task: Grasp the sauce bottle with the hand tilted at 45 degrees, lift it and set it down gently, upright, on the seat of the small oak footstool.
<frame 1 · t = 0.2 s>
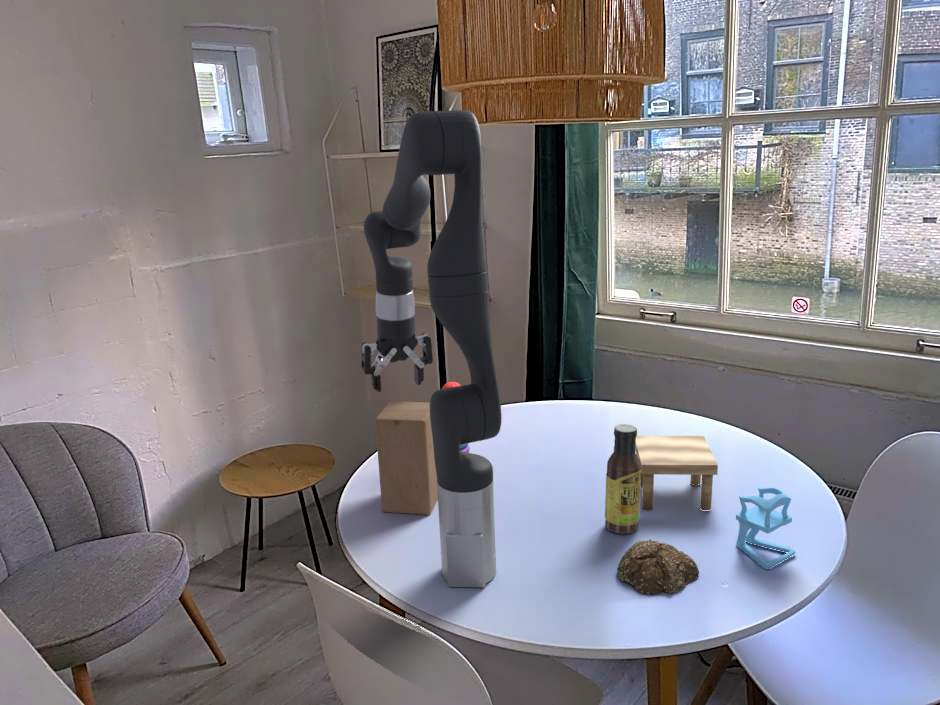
hand: (398, 386, 158), 22 cm above the table, tool pointing down, fingers open, 8 cm apart
sauce bottle: (622, 528, 145), on the table
chair: (761, 553, 135), on the table
wooden block: (412, 503, 158), on the table
stacking toy: (453, 461, 176), on the table
bread roll: (654, 575, 130), on the table
stool: (672, 495, 156), on the table
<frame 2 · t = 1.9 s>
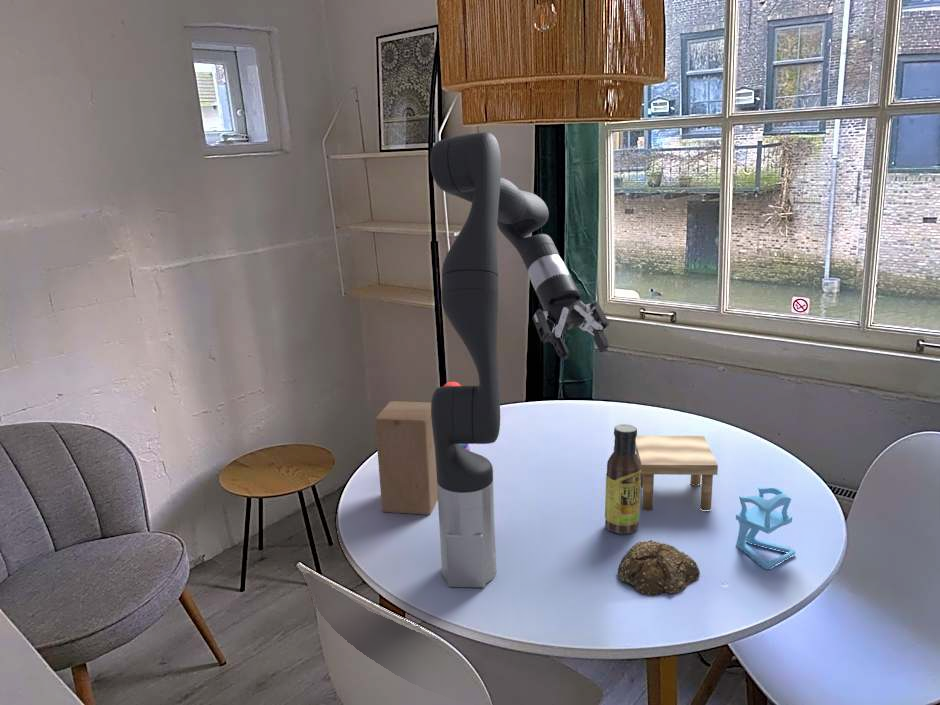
hand: (585, 353, 146), 31 cm above the table, tool tilted 45°, fingers open, 8 cm apart
nothing on the table moved.
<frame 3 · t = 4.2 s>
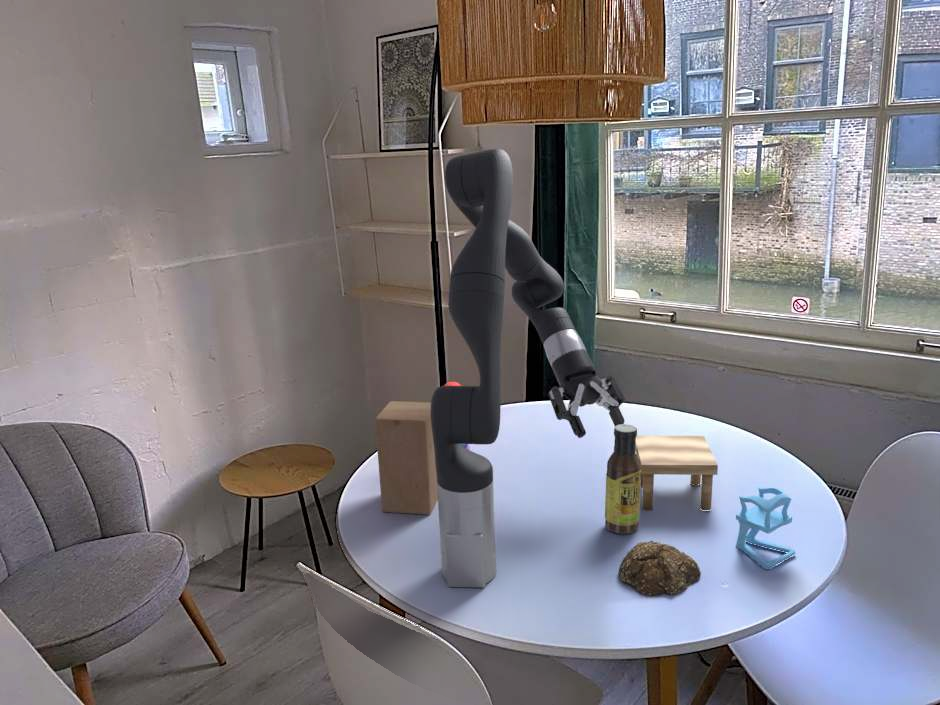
hand: (601, 431, 146), 17 cm above the table, tool tilted 45°, fingers open, 8 cm apart
nothing on the table moved.
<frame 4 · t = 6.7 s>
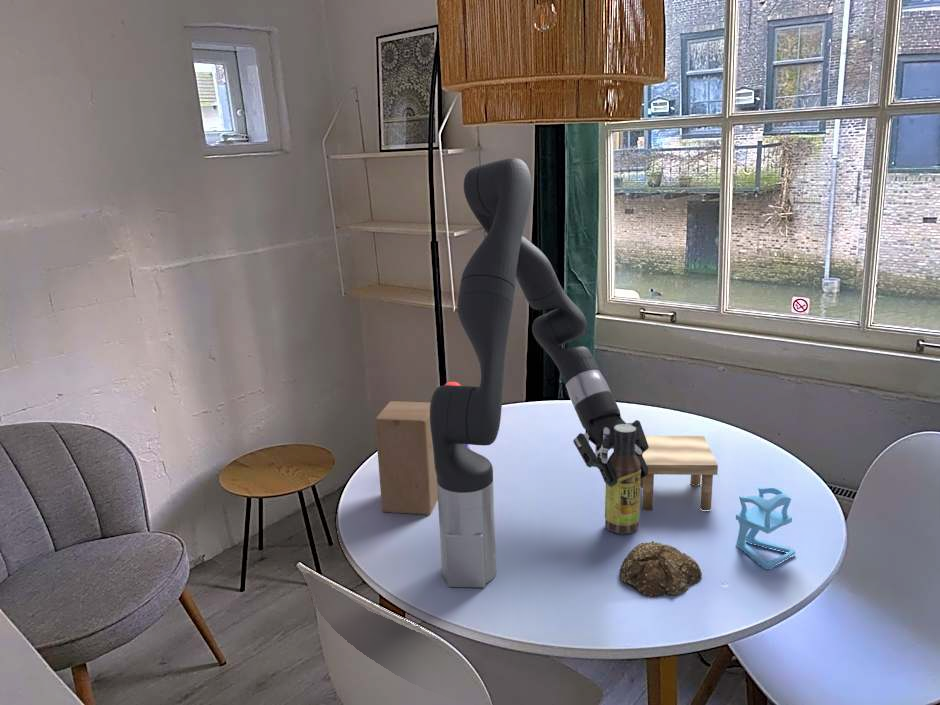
hand: (629, 480, 140), 10 cm above the table, tool tilted 45°, fingers closed on sauce bottle, 6 cm apart
sauce bottle: (622, 528, 145), on the table, touching gripper
everything else where it was.
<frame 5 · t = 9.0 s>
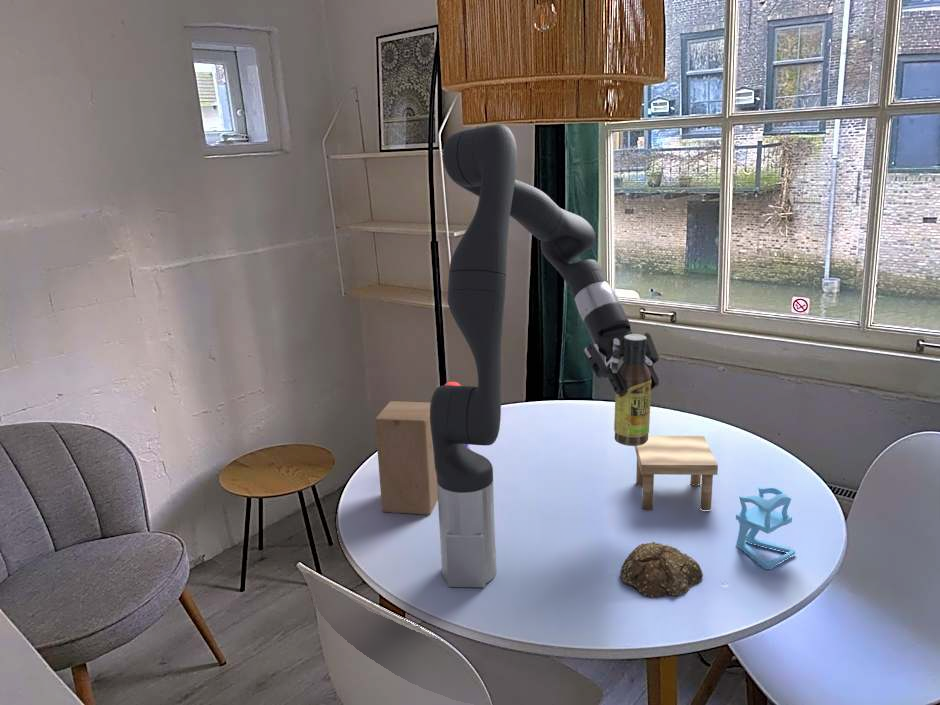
hand: (639, 390, 138), 26 cm above the table, tool tilted 45°, fingers closed on sauce bottle, 6 cm apart
sauce bottle: (631, 442, 143), point 16 cm above the table, touching gripper
everything else where it was.
when the fingers open (22 cm above the table, at t = 11.4 s): sauce bottle drops 1 cm, resting on stool.
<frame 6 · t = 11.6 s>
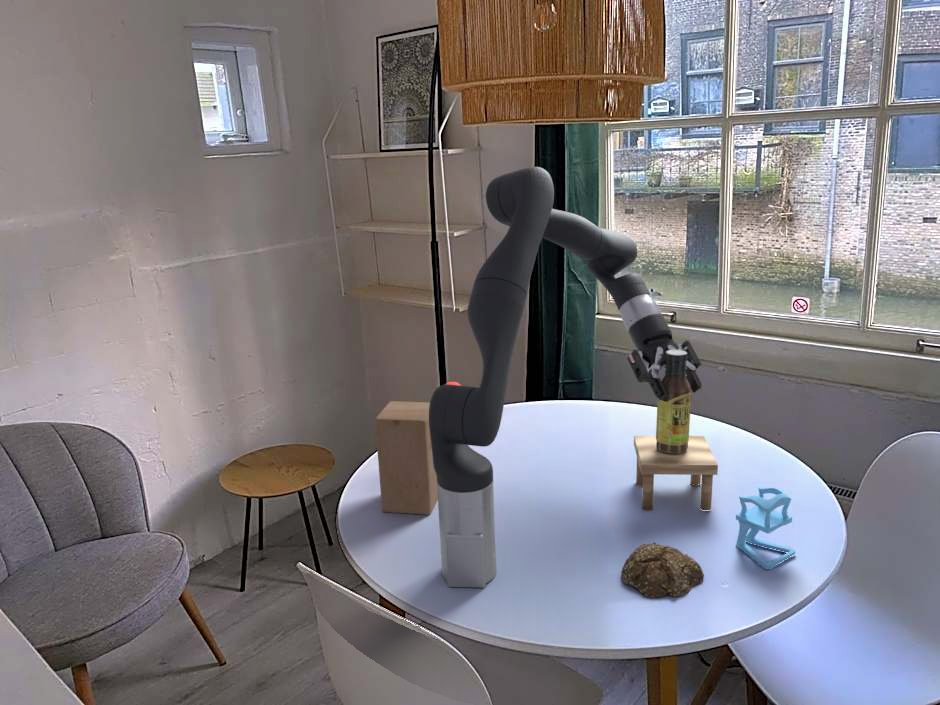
hand: (681, 394, 148), 22 cm above the table, tool tilted 45°, fingers open, 7 cm apart
sauce bottle: (672, 450, 153), point 10 cm above the table, touching stool
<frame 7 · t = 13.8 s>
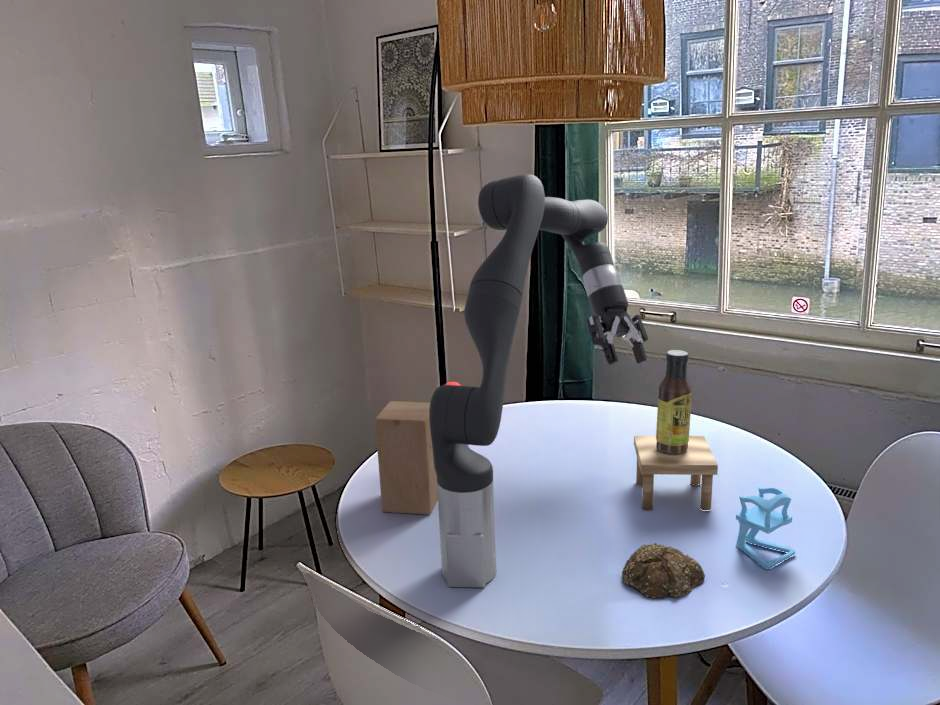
hand: (628, 362, 159), 25 cm above the table, tool tilted 35°, fingers open, 8 cm apart
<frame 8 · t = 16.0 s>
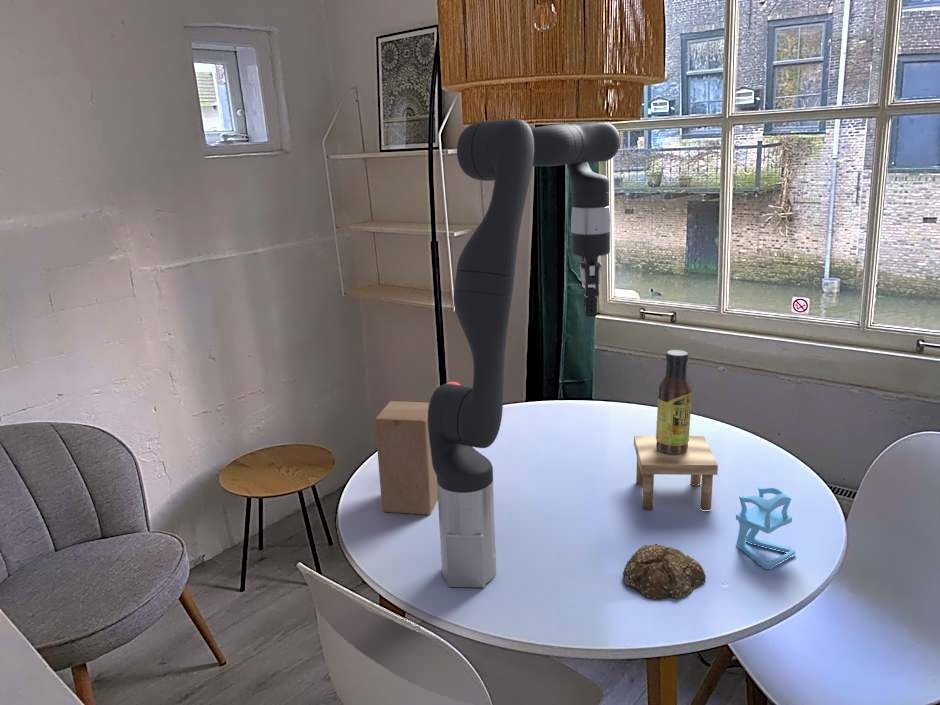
hand: (590, 310, 156), 36 cm above the table, tool pointing down, fingers open, 8 cm apart
at the end: sauce bottle inside the target area on the stool (0.3 cm from its centre), point 9.8 cm above the stool's base; sauce bottle tilted 0°; the gripper is holding nothing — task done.
